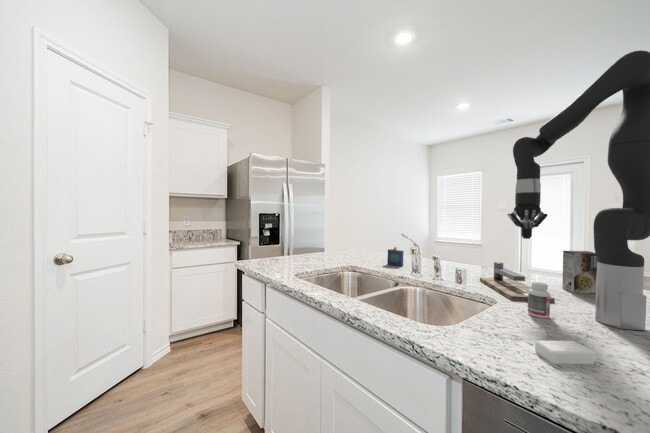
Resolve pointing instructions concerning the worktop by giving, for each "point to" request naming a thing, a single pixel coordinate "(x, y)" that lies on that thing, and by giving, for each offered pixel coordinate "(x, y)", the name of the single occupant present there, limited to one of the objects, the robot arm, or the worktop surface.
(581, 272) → the coffee box
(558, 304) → the worktop surface
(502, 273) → the swing arm
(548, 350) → the soap
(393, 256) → the flask
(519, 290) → the label board
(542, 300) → the pill bottle
